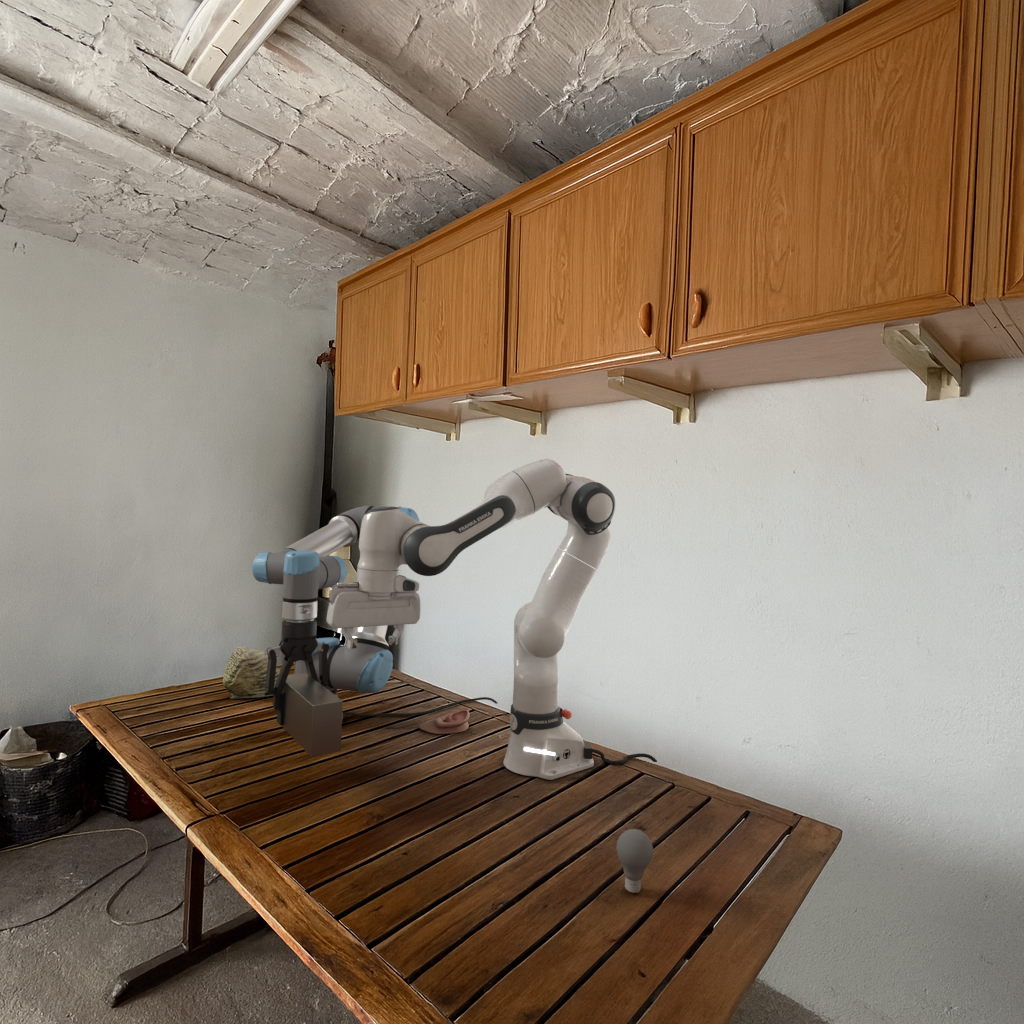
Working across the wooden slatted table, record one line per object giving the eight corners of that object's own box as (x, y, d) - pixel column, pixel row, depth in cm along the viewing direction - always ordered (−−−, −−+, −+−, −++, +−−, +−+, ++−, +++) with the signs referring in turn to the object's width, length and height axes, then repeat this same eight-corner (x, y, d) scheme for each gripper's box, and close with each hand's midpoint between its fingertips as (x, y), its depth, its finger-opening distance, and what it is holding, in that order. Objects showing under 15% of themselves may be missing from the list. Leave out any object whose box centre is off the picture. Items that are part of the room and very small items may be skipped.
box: (276, 721, 145) (278, 676, 145) (304, 716, 149) (305, 672, 148) (311, 757, 126) (312, 705, 126) (341, 750, 130) (342, 700, 130)
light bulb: (610, 879, 108) (613, 822, 108) (644, 879, 109) (647, 822, 109) (619, 902, 102) (622, 840, 102) (655, 901, 103) (658, 840, 103)
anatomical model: (415, 716, 173) (429, 704, 184) (414, 731, 173) (428, 717, 184) (462, 722, 170) (473, 709, 181) (461, 737, 170) (472, 722, 181)
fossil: (218, 695, 195) (220, 647, 195) (278, 685, 208) (279, 640, 207) (228, 703, 189) (230, 653, 188) (289, 692, 201) (290, 645, 201)
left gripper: (260, 626, 135) (256, 733, 135) (346, 619, 146) (342, 718, 146) (250, 619, 141) (247, 722, 141) (334, 613, 152) (331, 708, 152)
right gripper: (335, 584, 126) (330, 653, 127) (426, 583, 139) (421, 646, 139) (324, 580, 132) (319, 646, 132) (412, 579, 144) (408, 639, 144)
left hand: (295, 720), depth 144 cm, fingers closed on box, 6 cm apart
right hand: (372, 646), depth 135 cm, fingers open, 8 cm apart
